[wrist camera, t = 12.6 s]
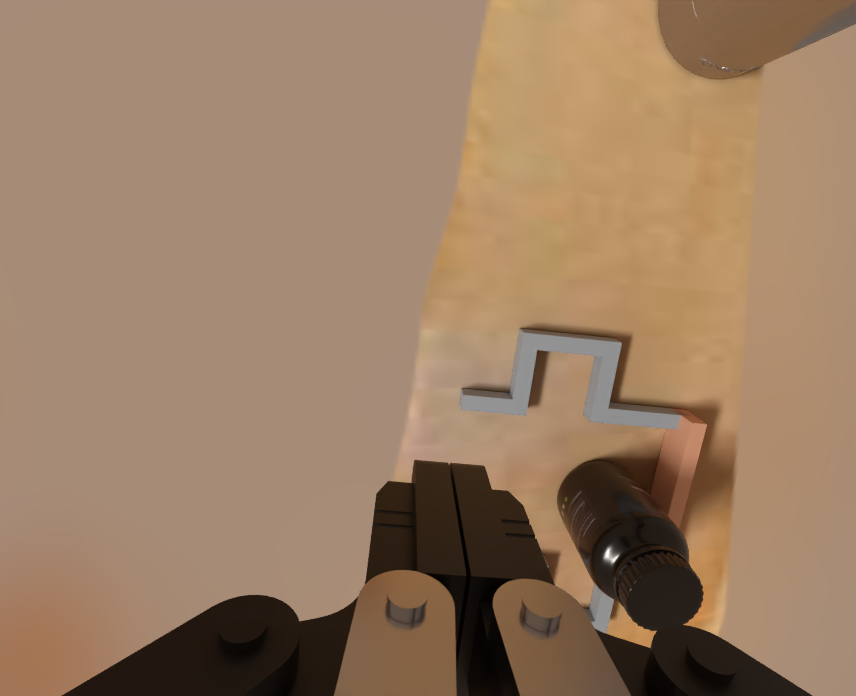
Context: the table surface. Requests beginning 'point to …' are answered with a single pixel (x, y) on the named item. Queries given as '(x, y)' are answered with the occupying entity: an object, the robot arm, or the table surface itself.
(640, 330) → the table surface
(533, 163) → the table surface
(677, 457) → the grey zigzag frame
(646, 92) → the table surface
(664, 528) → the supplement bottle
